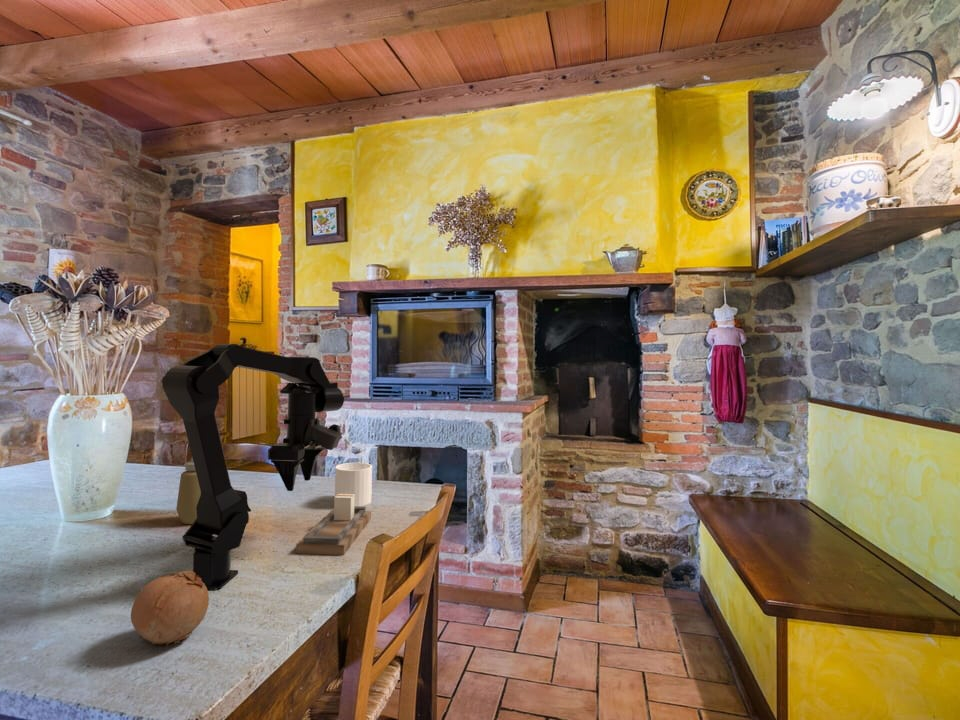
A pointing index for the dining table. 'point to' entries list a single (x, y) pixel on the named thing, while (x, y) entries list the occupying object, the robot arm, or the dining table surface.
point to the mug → (354, 482)
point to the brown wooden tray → (334, 534)
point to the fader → (344, 506)
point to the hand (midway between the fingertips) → (299, 485)
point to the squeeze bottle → (188, 494)
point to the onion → (170, 607)
